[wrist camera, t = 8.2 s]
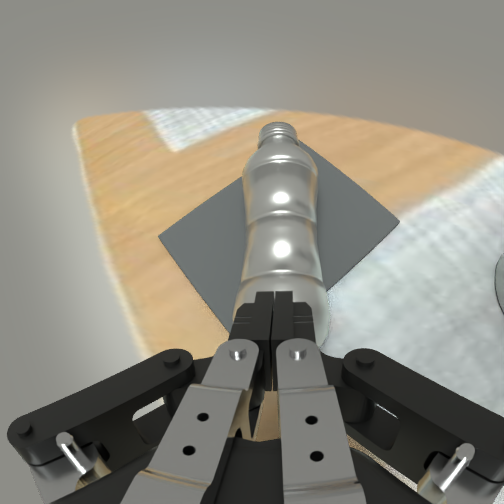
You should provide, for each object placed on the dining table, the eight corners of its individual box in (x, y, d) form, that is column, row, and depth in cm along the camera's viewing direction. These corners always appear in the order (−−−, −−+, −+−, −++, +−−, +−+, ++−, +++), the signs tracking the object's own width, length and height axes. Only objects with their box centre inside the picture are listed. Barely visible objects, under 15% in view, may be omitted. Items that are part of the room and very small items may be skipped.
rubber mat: (298, 142, 32) (298, 139, 32) (398, 223, 27) (400, 221, 26) (159, 238, 29) (157, 236, 29) (248, 356, 23) (247, 355, 23)
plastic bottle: (263, 361, 24) (265, 165, 32) (344, 355, 20) (322, 144, 29) (210, 351, 19) (229, 128, 28) (309, 345, 15) (292, 99, 24)
